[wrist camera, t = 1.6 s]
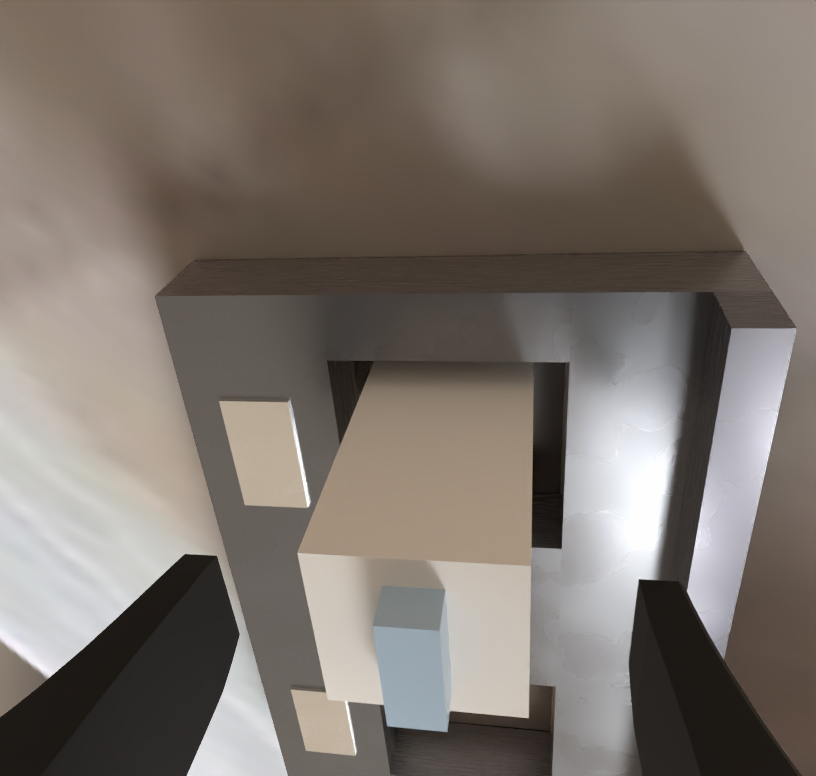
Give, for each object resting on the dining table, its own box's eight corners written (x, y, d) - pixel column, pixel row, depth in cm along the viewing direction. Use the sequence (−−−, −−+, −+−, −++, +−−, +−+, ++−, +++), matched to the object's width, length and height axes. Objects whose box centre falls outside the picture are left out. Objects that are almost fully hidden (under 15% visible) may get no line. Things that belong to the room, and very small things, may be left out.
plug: (534, 345, 17) (530, 607, 10) (532, 470, 18) (528, 762, 12) (380, 344, 17) (282, 591, 11) (393, 466, 19) (316, 740, 12)
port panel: (745, 251, 15) (797, 328, 12) (657, 769, 24) (673, 886, 21) (193, 260, 17) (119, 328, 14) (308, 734, 26) (278, 836, 23)
